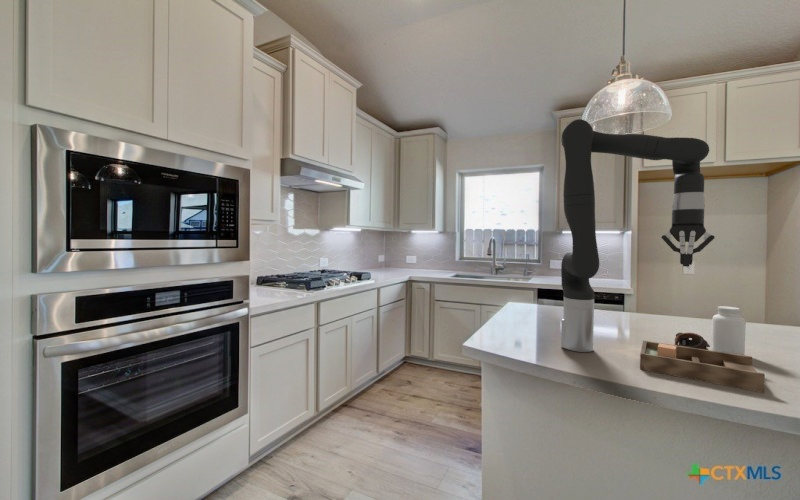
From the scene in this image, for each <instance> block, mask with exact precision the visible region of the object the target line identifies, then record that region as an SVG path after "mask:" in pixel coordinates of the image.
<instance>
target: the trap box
mask: <svg viewBox="0 0 800 500" xmlns="http://www.w3.org/2000/svg"><path fill="white" fill-rule="evenodd" d="M659 343H661V344H665V343H663V342H658V341H657V342H656V341H648V340H643V339H642V344H641V349H640V354H639V357H640V359H639V370H642V371H648V372H652V373H658V374H663V375H669V376H674V377H680V378H685V379H690V380H695V381H699V382H700V381H701V382H706V383H711V384H715V385H722V386H726V387H732V388H738V389H742V390H746V391H747V390H748V391H753V392H758V393H765V375H766V374H765V373H764V372H758V371H757V370H756V368H755V366H753V356H749V355H745V354H744V355H738V354H731V353H724V352H718V351H712V349H708V350H704V349H697V348H691V347H684V346H677V345H675V344H672V345H673V346H677V348H676V359H675V358H669V357H663V356H657V353H658V345H659ZM666 344H667V345H671V344H669V343H666Z"/></svg>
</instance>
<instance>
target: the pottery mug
mask: <svg viewBox="0 0 800 500" xmlns="http://www.w3.org/2000/svg"><path fill="white" fill-rule="evenodd" d="M674 345H677V346H684V347H691V348H697V349H704V350H709V349H708V348H710V347H711V346H710V344H709V343H708V342H707V340H706V339H704V337H703V336H701V335H700V334H698V333H694V332H677V333H676V334H675V338H674Z"/></svg>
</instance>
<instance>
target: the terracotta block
mask: <svg viewBox="0 0 800 500" xmlns="http://www.w3.org/2000/svg"><path fill="white" fill-rule="evenodd" d="M658 343H659V345H658V353H657V356H663V357H669V358H675V359H676V348H677V346H673V345H674V344H670V345H667V344H668V343H664V344H661V343H662V342H658Z"/></svg>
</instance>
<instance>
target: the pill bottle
mask: <svg viewBox="0 0 800 500" xmlns="http://www.w3.org/2000/svg"><path fill="white" fill-rule="evenodd" d="M740 313H741V308H739V307H735V306H729V305H728V306H727V305H726V306H723V305H722V306H721V305H719V306H717V314H714V315H713V316H712V317H711V319H712V320H711V321H712V322H711V346H710V347H711V351H718V352H724V353H731V354H738V355H745V350H746V325H747V324H746V323H747V322H746V320H745V319H744V318H743V317H741V314H740Z"/></svg>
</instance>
